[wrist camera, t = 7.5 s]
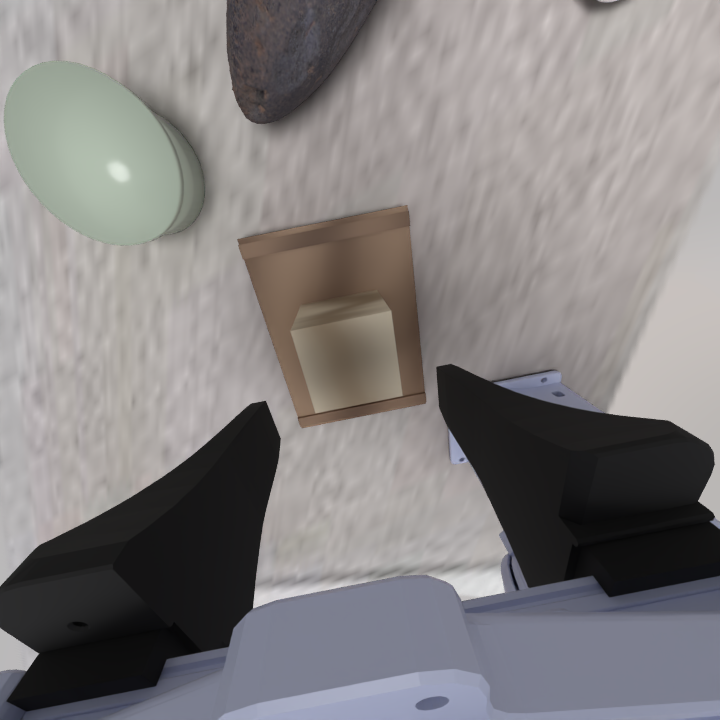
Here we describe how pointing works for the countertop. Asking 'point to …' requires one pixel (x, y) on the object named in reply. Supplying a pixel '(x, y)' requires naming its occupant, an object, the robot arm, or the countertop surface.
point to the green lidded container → (100, 155)
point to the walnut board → (338, 294)
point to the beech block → (347, 351)
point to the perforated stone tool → (286, 50)
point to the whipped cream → (607, 0)
